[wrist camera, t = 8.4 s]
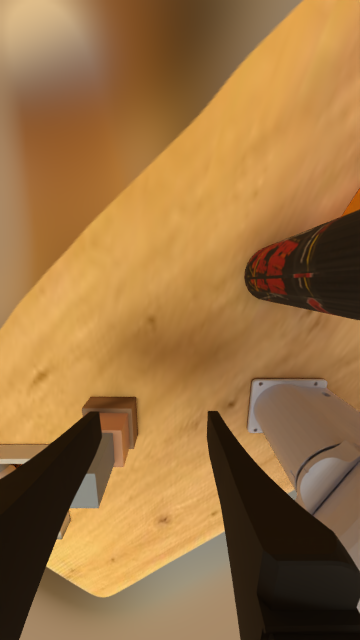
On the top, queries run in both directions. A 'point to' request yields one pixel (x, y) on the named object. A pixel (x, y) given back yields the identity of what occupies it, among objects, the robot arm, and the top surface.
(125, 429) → the terracotta slab
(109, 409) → the walnut slab
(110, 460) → the slate cube
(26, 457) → the grey tray rim
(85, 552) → the top surface
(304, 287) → the deodorant
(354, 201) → the orange juice
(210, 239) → the top surface
